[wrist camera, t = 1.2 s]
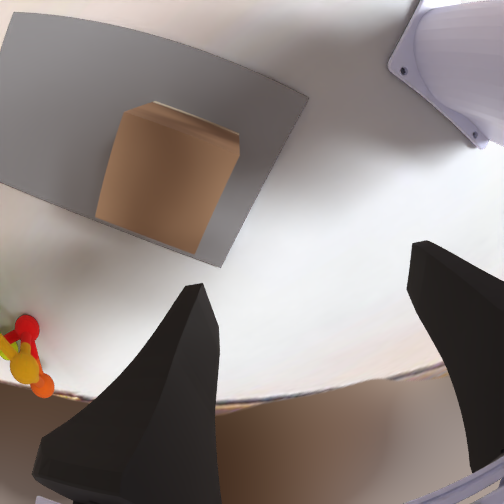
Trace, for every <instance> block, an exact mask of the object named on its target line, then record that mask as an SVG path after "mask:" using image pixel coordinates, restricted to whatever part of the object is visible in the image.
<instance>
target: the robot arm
mask: <svg viewBox="0 0 504 504" xmlns="http://www.w3.org/2000/svg"><path fill="white" fill-rule="evenodd" d="M402 67H403V68H404V70H405V73H404V75H402V74H401V71H400V70H401V68H402ZM388 69H389V71H390V72H391V73H393V74H394V75H395V76H397V77H398V78H399V79H401V80H402V81H403V82H405V83H406V84H407V85H409V86H410V87H411V88H412V89H414V90H415V91H416V92H417V93H419V94H420V95H421V96H422V97H424V98H425V99H426V100H427V101H428V102H430V103H431V104H432V105H433V106H434V107H435V108H437V109H438V110H439V111H440V112H441V113H442V114H443V115H444V116H446V117H447V118H448V119H449V120H450V121H451V122H452V123H453V124H454V125H455V126H456V127H457V128H458V129H459V130H460V131H461V132H462V133H463V134H464V135H466V136H467V137H468V138H469V140H470V141H471V142H472V143H473V144H474V145H475V146H476V147H478V148H479V149H484V148H485V147H486V145H487V143H488V142H489V140H490V141H493V142H495V143H497V144H499V145H501V146H503V147H504V0H487V1H477V2H469V3H461V2H460V1H459V0H421V1H420V2H419V4H418V6H417V8H416V10H415V12H414V14H413V16H412V18H411V20H410V22H409V24H408V26H407V27H406V29H405V31H404V33H403V35H402V37H401V39H400V41H399V43H398V44H397V46H396V48H395V50H394V52H393V54H392V56H391V57H390V59H389V61H388ZM473 132H474V136H473ZM407 291H408V294H409V296H410V299H411V301H412V303H413V306H414V308H415V310H416V313H417V314H418V316H419V318H420V320H421V321H422V323H423V325H424V327H425V328H426V330H427V332H428V334H429V335H430V337H431V339H432V341H433V343H434V344H435V346H436V348H437V350H438V352H439V353H440V355H441V357H442V359H443V361H444V363H445V365H446V368H447V370H448V373H449V375H450V378H451V381H452V383H453V386H454V389H455V392H456V396H457V399H458V402H459V406H460V409H461V413H462V418H463V422H464V427H465V431H466V437H467V444H468V451H469V461H470V467H471V470H472V473H473V474H471V475H469V476H467V477H465V478H463V479H461V480H459V481H457V482H455V483H452V484H450V485H448V486H446V487H444V488H441V489H439V490H437V491H434V492H432V493H430V494H427V495H425V496H422V497H419V498H417V499H414V500H412V501H409V502H406V503H403V504H456V503H458V502H460V501H462V500H464V499H466V498H468V497H470V496H472V495H474V494H475V493H477V492H479V491H481V490H483V489H485V488H486V487H488V486H490V485H491V484H493V483H495V482H497V481H498V480H500V479H501V478H502V479H501V481H500V484H499V487H498V488H497V489H496V490H494V491H493V492H491V493H489V494H487V495H486V496H484V497H482V498H480V499H478V500H476V501H475V502H473V503H471V504H504V281H502V280H500V279H498V278H496V277H494V276H492V275H490V274H488V273H486V272H485V271H483V270H481V269H479V268H477V267H476V266H474V265H472V264H470V263H469V262H467V261H465V260H463V259H462V258H460V257H458V256H456V255H455V254H453V253H451V252H449V251H447V250H446V249H444V248H442V247H440V246H438V245H436V244H434V243H432V242H430V241H427V240H426V241H421V242H416V243H412V251H411V260H410V269H409V276H408V283H407ZM219 356H220V344H219V326H218V323H217V321H216V318H215V315H214V312H213V310H212V307H211V304H210V302H209V299H208V296H207V293H206V291H205V288H204V285H203V283H200V284H194V285H188V286H185V287H184V289H183V290H182V292H181V293H180V295H179V296H178V298H177V299H176V301H175V302H174V304H173V305H172V307H171V308H170V310H169V311H168V313H167V314H166V316H165V317H164V319H163V320H162V322H161V323H160V325H159V326H158V328H157V329H156V331H155V332H154V333H153V335H152V336H151V337H150V339H149V340H148V341H147V343H146V344H145V346H144V347H143V348H142V350H141V351H140V352H139V353H138V355H137V356H136V357H135V358H134V360H133V361H132V362H131V363H130V364H129V365H128V366H127V368H126V369H125V370H124V371H123V372H122V373H121V374H120V375H119V376H118V377H117V379H116V380H115V381H113V382H112V383H111V384H110V385H109V386H108V387H107V388H106V389H105V390H104V391H103V392H102V393H101V394H100V395H99V396H98V397H97V398H96V399H95V400H93V401H92V402H91V403H90V404H89V405H88V406H87V407H85V408H84V409H83V410H81V411H80V412H79V413H78V414H76V415H75V416H74V417H72V418H71V419H70V420H68V421H67V422H66V423H64V424H63V425H61V426H60V427H58V428H57V429H55V430H54V431H52V432H51V433H49V434H47V435H46V436H44V437H42V439H41V443H40V446H39V449H38V453H37V457H36V460H35V464H34V468H33V471H32V475H33V477H34V478H35V480H36V481H38V482H39V483H41V484H42V485H44V486H46V487H47V488H49V489H51V490H53V491H55V492H57V493H59V494H61V495H63V496H65V497H67V498H69V499H71V500H73V504H222V501H221V494H220V486H219V476H218V467H217V453H216V436H215V404H216V392H217V380H218V369H219ZM35 504H60V503H58V502H55V501H52V500H49V499H46V498H43V497H41V496H37V498H36V503H35Z"/></svg>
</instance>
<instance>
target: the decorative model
mask: <svg viewBox="0 0 504 504" xmlns="http://www.w3.org/2000/svg"><path fill="white" fill-rule="evenodd" d="M38 335H39V325H38V323H37V321H36V320H35V319H34V318H33V317H32V316H29V315H23V316H21V317H19V318H18V319H17V321H16V323H15V330H13V331H11V332H9V333H7V334H6V335H4V336H3V335H2V334H1V333H0V356H1V357H2V358H3V359H5V360H10V370H11V373H12V375H13V377H14V378H15V379H16V380H17V381H18V382H20V383H22V384H30V385H31V389H32V391H33V392H34V393H35V394H36V395H37V396H38V397H41V398H47V397H50V396H51V395H52V394H53V392H54V382H53V380H52V379H51V377H50V376H49V375H47V374H45V373H43V371H42V367H41V363H40V360H39V356H38V352H37V348H36V344H35V340H36V339H37V337H38ZM19 339H20V340H21V344H20V352H19V353H18V346H17V343H16V341H18V340H19Z"/></svg>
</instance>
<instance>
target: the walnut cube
mask: <svg viewBox="0 0 504 504" xmlns="http://www.w3.org/2000/svg"><path fill="white" fill-rule="evenodd" d="M239 156H240V147H239V133H237V132H235V131H232V130H230V129H228V128H225V127H223V126H220V125H218V124H215V123H213V122H210V121H208V120H205V119H203V118H200V117H198V116H195V115H193V114H190V113H187V112H185V111H182V110H179V109H176V108H174V107H171V106H168V105H165V104H162V103H160V102H157V101H154V102H150V103H148V104H145V105H142V106H139V107H136V108H133V109H130V110H128V111H125V112H124V113H123V116H122V119H121V122H120V125H119V128H118V131H117V134H116V138H115V141H114V144H113V148H112V151H111V154H110V158H109V161H108V165H107V169H106V173H105V176H104V180H103V184H102V188H101V193H100V197H99V201H98V206H97V210H96V215H95V217H96V218H99V219H101V220H104V221H107V222H109V223H112V224H114V225H117V226H120V227H122V228H125V229H127V230H130V231H133V232H135V233H138V234H140V235H143V236H146V237H148V238H151V239H154V240H156V241H159V242H162V243H164V244H167V245H170V246H172V247H175V248H178V249H180V250H183V251H186V252H189V253H191V254H194V255H195V253H196V250H197V248H198V246H199V243H200V241H201V239H202V236H203V234H204V232H205V230H206V227H207V225H208V223H209V221H210V218H211V216H212V214H213V212H214V210H215V207H216V205H217V203H218V201H219V199H220V196H221V194H222V192H223V190H224V188H225V186H226V183H227V181H228V179H229V177H230V175H231V173H232V171H233V169H234V166H235V164H236V162H237V160H238V158H239Z"/></svg>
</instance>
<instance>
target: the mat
mask: <svg viewBox="0 0 504 504" xmlns="http://www.w3.org/2000/svg"><path fill="white" fill-rule="evenodd" d="M308 99H309V97H307V96H305V95H303V94H301V93H299V92H297V91H295V90H293V89H291V88H289V87H287V86H285V85H283V84H281V83H279V82H277V81H274V80H272V79H270V78H268V77H266V76H264V75H261V74H259V73H257V72H255V71H252V70H250V69H248V68H245V67H243V66H241V65H238V64H236V63H233V62H231V61H228V60H226V59H223V58H221V57H218V56H215V55H213V54H210V53H207V52H205V51H202V50H199V49H196V48H193V47H190V46H187V45H184V44H181V43H178V42H175V41H172V40H169V39H165V38H162V37H158V36H155V35H151V34H148V33H144V32H140V31H136V30H132V29H128V28H124V27H120V26H115V25H111V24H106V23H101V22H96V21H90V20H84V19H78V18H72V17H65V16H57V15H48V14H38V13H24V12H14V13H13V15H12V18H11V21H10V23H9V26H8V29H7V32H6V35H5V38H4V41H3V44H2V47H1V51H0V182H1V183H3V184H6V185H8V186H10V187H13V188H15V189H18V190H20V191H22V192H25V193H27V194H30V195H32V196H35V197H37V198H39V199H42V200H44V201H47V202H49V203H52V204H54V205H57V206H59V207H62V208H64V209H67V210H69V211H72V212H74V213H77V214H79V215H82V216H84V217H87V218H89V219H92V220H95V221H97V222H100V223H102V224H105V225H107V226H110V227H113V228H115V229H118V230H120V231H123V232H126V233H128V234H131V235H133V236H136V237H139V238H141V239H144V240H147V241H149V242H152V243H155V244H157V245H160V246H163V247H165V248H168V249H171V250H173V251H176V252H179V253H181V254H184V255H187V256H190V257H192V258H195V259H198V260H200V261H203V262H206V263H209V264H211V265H214V266H217V267H220V268H221V266H222V264H223V262H224V260H225V258H226V256H227V254H228V252H229V250H230V248H231V247H232V245H233V243H234V241H235V239H236V237H237V235H238V233H239V231H240V229H241V227H242V225H243V223H244V221H245V219H246V217H247V215H248V213H249V211H250V209H251V207H252V205H253V203H254V201H255V200H256V198H257V196H258V194H259V192H260V190H261V188H262V186H263V184H264V182H265V180H266V178H267V176H268V174H269V173H270V171H271V169H272V167H273V165H274V163H275V161H276V159H277V157H278V155H279V153H280V152H281V150H282V148H283V146H284V144H285V142H286V140H287V138H288V136H289V135H290V133H291V131H292V129H293V127H294V125H295V123H296V121H297V120H298V118H299V116H300V114H301V112H302V110H303V108H304V106H305V105H306V103H307V101H308ZM154 101H157V102H160V103H162V104H165V105H168V106H171V107H174V108H176V109H179V110H182V111H185V112H187V113H190V114H193V115H195V116H198V117H200V118H203V119H205V120H208V121H210V122H213V123H215V124H218V125H220V126H223V127H225V128H228V129H230V130H232V131H235V132H237V133H239V147H240V156H239V158H238V160H237V162H236V164H235V166H234V169H233V171H232V173H231V175H230V177H229V179H228V181H227V183H226V186H225V188H224V190H223V192H222V194H221V196H220V199H219V201H218V203H217V205H216V207H215V210H214V212H213V214H212V216H211V218H210V221H209V223H208V225H207V227H206V230H205V232H204V234H203V236H202V239H201V241H200V243H199V246H198V248H197V250H196V253H195V255H194V254H191V253H189V252H186V251H183V250H180V249H178V248H175V247H172V246H170V245H167V244H164V243H162V242H159V241H156V240H154V239H151V238H148V237H146V236H143V235H140V234H138V233H135V232H133V231H130V230H127V229H125V228H122V227H120V226H117V225H114V224H112V223H109V222H107V221H104V220H101V219H99V218H96V217H95V215H96V210H97V206H98V201H99V197H100V193H101V188H102V184H103V180H104V176H105V173H106V169H107V165H108V161H109V158H110V154H111V151H112V148H113V144H114V141H115V138H116V134H117V131H118V128H119V125H120V122H121V119H122V116H123V113H124V112H125V111H128V110H130V109H133V108H136V107H139V106H142V105H145V104H148V103H150V102H154Z"/></svg>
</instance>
